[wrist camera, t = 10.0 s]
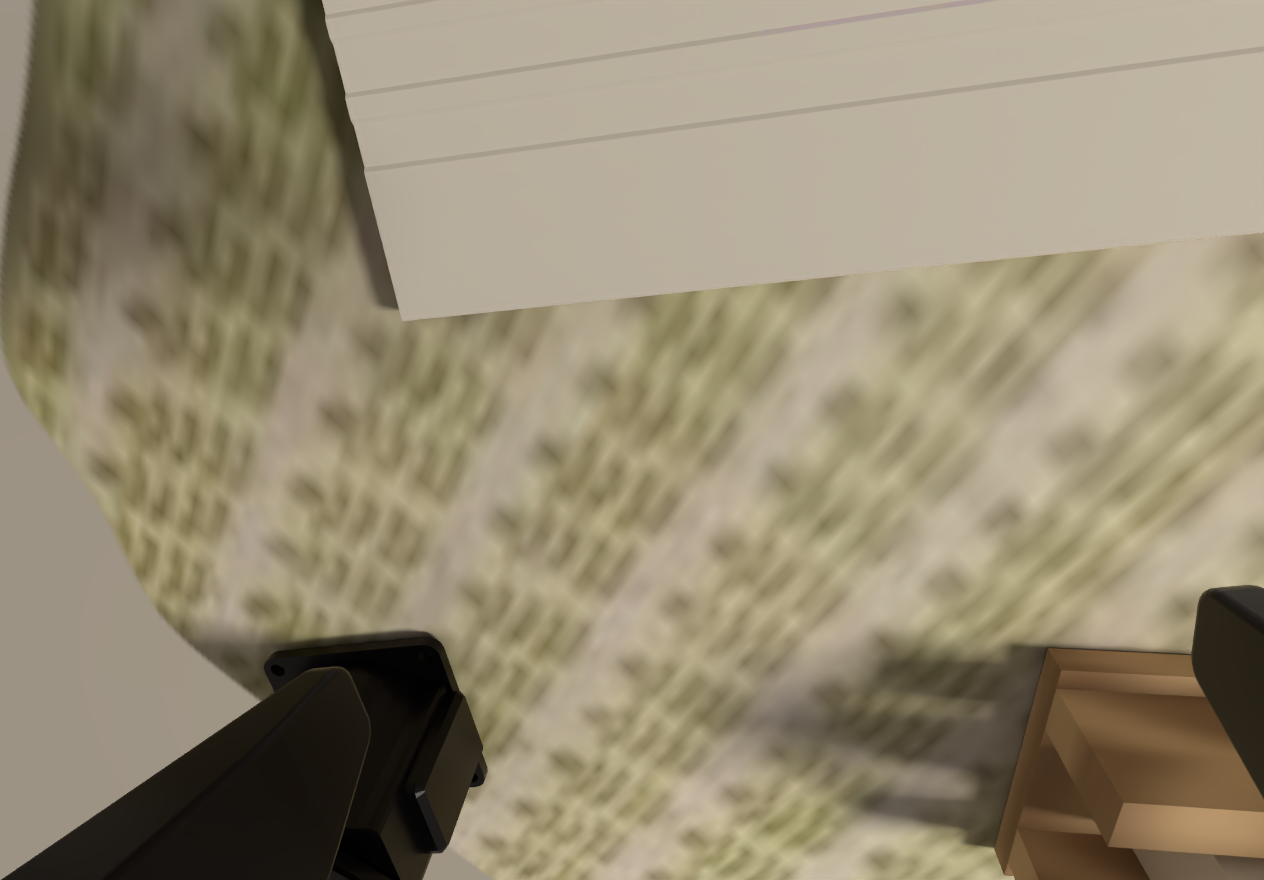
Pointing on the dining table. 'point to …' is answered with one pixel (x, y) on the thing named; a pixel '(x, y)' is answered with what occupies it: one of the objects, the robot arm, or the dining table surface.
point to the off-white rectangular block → (1199, 866)
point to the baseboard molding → (787, 137)
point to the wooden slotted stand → (1123, 771)
